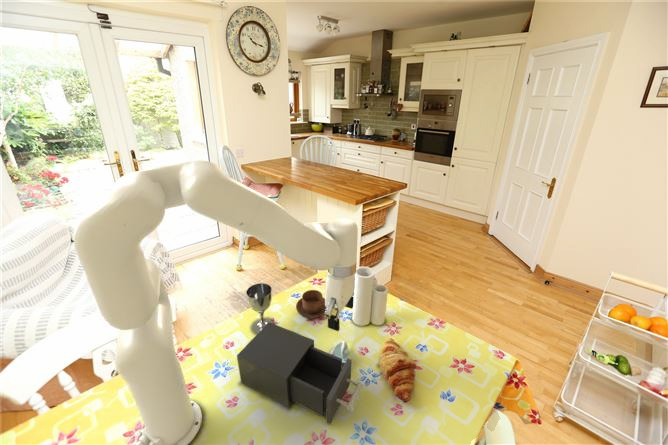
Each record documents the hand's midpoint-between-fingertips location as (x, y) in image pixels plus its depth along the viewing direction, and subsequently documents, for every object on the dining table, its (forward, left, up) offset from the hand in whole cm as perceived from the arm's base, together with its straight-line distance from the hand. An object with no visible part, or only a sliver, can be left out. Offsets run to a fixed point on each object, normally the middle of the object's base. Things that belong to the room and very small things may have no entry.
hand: (341, 317), depth 82 cm
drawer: (-13, -1, -15) cm, 20 cm away
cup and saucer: (+15, +18, -16) cm, 28 cm away
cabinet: (-13, +13, -16) cm, 24 cm away
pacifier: (0, 0, -16) cm, 16 cm away
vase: (+20, -2, -16) cm, 26 cm away
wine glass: (0, +29, -16) cm, 33 cm away
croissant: (+3, -17, -16) cm, 23 cm away
